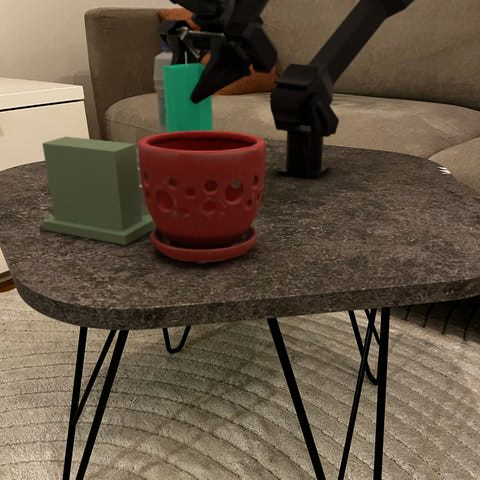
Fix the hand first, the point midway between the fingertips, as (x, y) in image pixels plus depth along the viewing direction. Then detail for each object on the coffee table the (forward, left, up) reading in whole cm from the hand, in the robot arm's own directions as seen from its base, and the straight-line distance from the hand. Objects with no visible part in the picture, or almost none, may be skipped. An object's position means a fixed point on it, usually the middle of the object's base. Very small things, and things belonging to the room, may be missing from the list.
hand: (179, 99), depth 75 cm
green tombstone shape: (+7, -4, -13) cm, 16 cm away
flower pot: (+14, +11, -13) cm, 22 cm away
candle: (-1, +1, -7) cm, 7 cm away
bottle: (-17, -11, -13) cm, 24 cm away
